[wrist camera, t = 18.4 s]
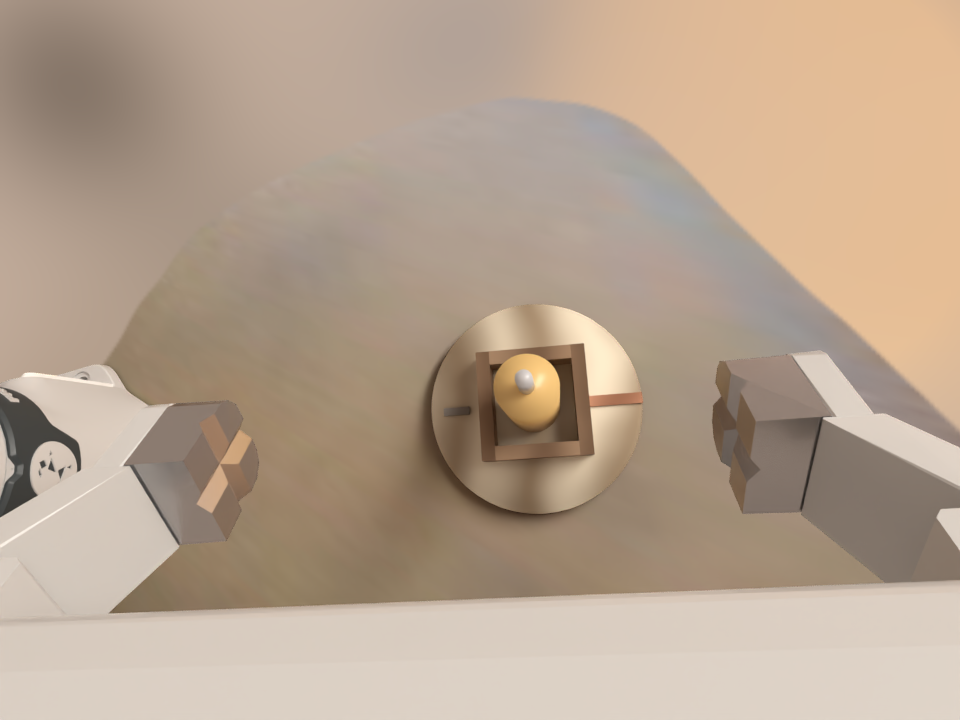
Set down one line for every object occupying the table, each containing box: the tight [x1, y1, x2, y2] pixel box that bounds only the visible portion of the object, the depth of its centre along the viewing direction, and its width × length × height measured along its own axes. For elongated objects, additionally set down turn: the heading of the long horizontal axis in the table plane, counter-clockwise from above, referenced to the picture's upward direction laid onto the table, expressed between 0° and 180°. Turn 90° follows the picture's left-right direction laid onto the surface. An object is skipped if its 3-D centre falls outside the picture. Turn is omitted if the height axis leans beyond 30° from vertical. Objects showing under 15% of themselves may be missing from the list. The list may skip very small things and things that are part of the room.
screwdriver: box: [493, 354, 560, 432], centre depth 40 cm, size 4×4×13 cm
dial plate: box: [432, 304, 643, 514], centre depth 46 cm, size 16×16×4 cm
